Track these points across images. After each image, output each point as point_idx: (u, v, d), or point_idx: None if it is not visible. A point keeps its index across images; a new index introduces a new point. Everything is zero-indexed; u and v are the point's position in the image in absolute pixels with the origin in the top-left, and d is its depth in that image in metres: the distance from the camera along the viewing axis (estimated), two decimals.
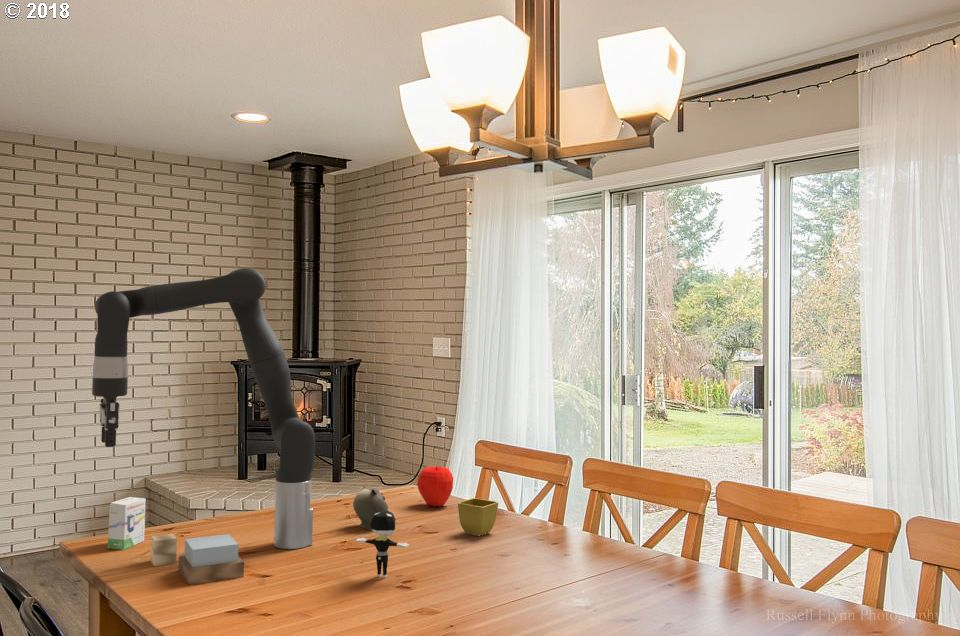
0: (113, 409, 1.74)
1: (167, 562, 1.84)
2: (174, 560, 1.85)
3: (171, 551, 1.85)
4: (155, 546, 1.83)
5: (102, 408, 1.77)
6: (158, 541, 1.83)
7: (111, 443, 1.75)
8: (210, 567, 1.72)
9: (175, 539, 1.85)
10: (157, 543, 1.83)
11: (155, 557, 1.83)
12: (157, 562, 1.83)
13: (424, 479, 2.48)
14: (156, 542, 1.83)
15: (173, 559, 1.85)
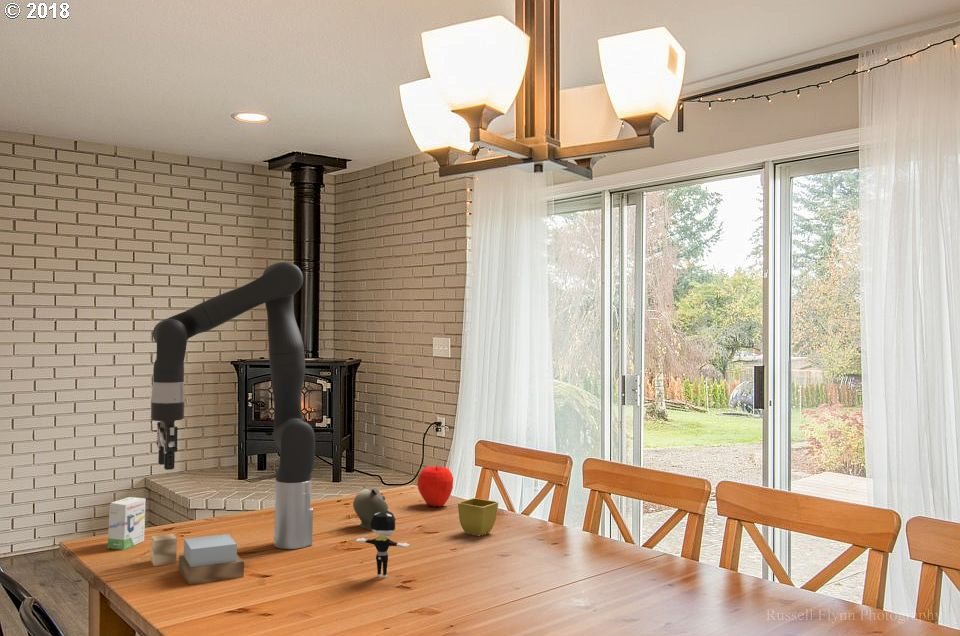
0: (172, 433, 1.81)
1: (167, 562, 1.84)
2: (174, 560, 1.85)
3: (171, 551, 1.85)
4: (155, 546, 1.83)
5: (161, 432, 1.84)
6: (158, 541, 1.83)
7: (170, 466, 1.82)
8: (210, 567, 1.72)
9: (175, 539, 1.85)
10: (157, 543, 1.83)
11: (155, 557, 1.83)
12: (157, 562, 1.83)
13: (424, 480, 2.48)
14: (156, 542, 1.83)
15: (173, 559, 1.85)
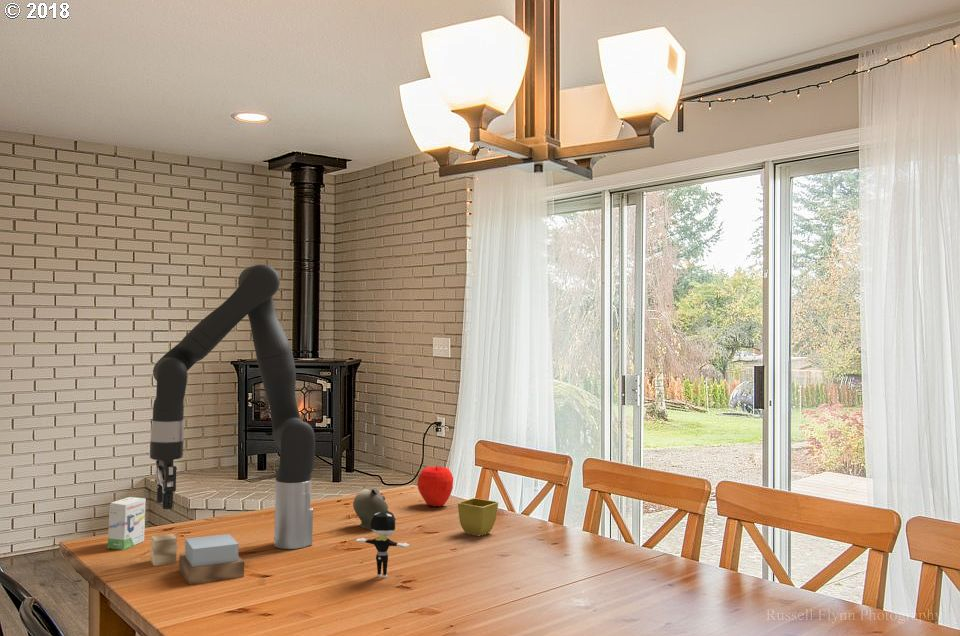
0: (171, 473, 1.81)
1: (167, 562, 1.84)
2: (174, 560, 1.85)
3: (171, 551, 1.85)
4: (155, 546, 1.83)
5: (160, 471, 1.84)
6: (158, 541, 1.83)
7: (168, 505, 1.82)
8: (210, 567, 1.72)
9: (175, 539, 1.85)
10: (157, 543, 1.83)
11: (155, 557, 1.83)
12: (157, 562, 1.83)
13: (424, 479, 2.48)
14: (156, 542, 1.83)
15: (173, 559, 1.85)
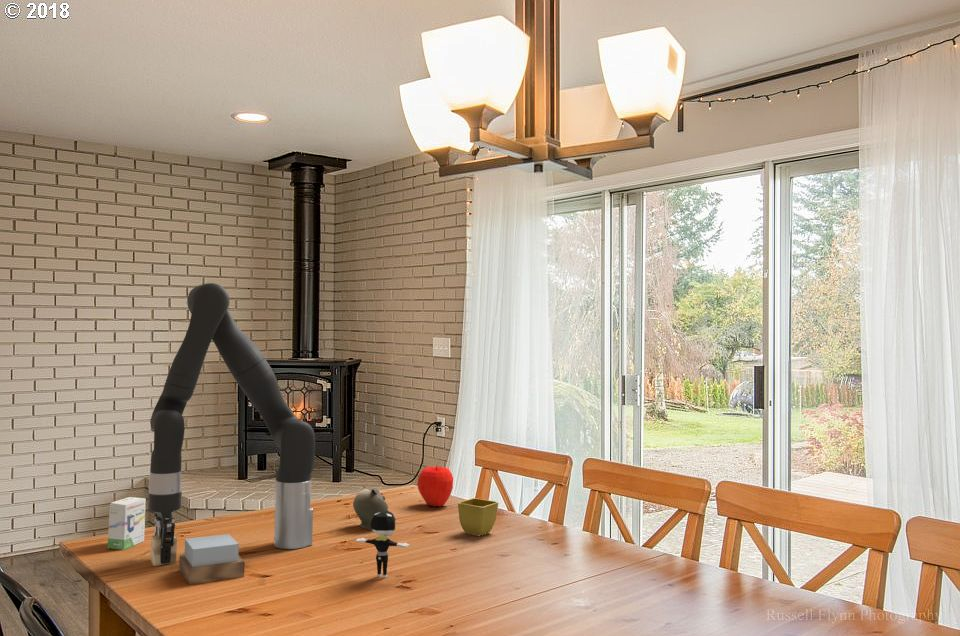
0: (169, 530, 1.81)
1: None
2: (174, 560, 1.85)
3: (171, 551, 1.85)
4: (155, 546, 1.83)
5: (158, 524, 1.84)
6: (158, 541, 1.83)
7: (166, 560, 1.83)
8: (211, 567, 1.72)
9: (175, 539, 1.85)
10: (157, 543, 1.83)
11: (155, 557, 1.83)
12: (157, 562, 1.83)
13: (424, 479, 2.48)
14: (156, 542, 1.83)
15: (173, 559, 1.85)
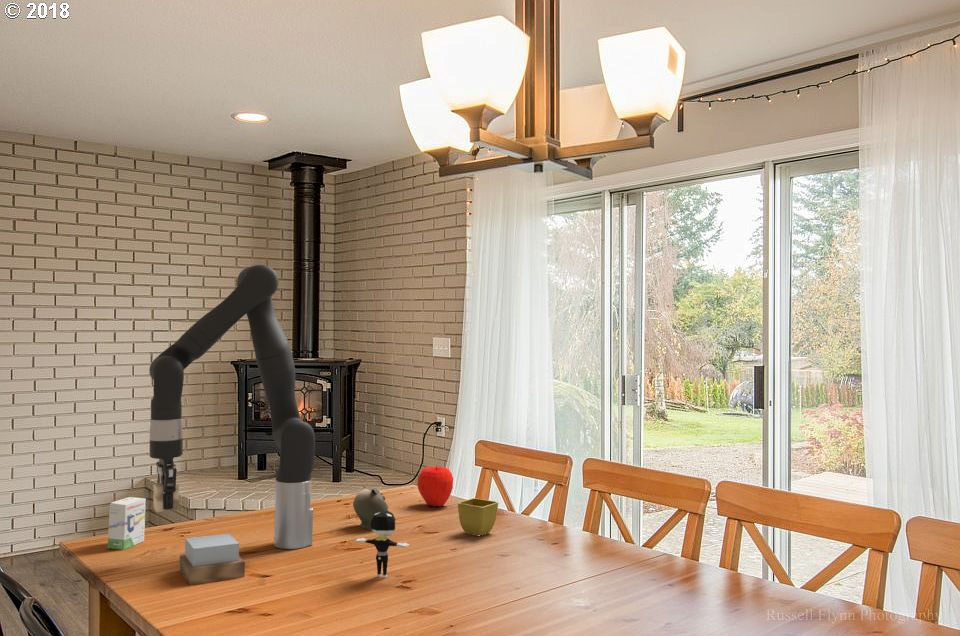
0: (171, 476, 1.81)
1: None
2: (177, 506, 1.85)
3: (173, 497, 1.85)
4: (157, 492, 1.83)
5: (160, 470, 1.84)
6: (160, 487, 1.84)
7: (169, 506, 1.83)
8: (211, 567, 1.72)
9: (177, 485, 1.86)
10: (159, 489, 1.83)
11: (157, 503, 1.83)
12: (159, 508, 1.83)
13: (424, 480, 2.48)
14: (158, 488, 1.83)
15: (176, 506, 1.85)
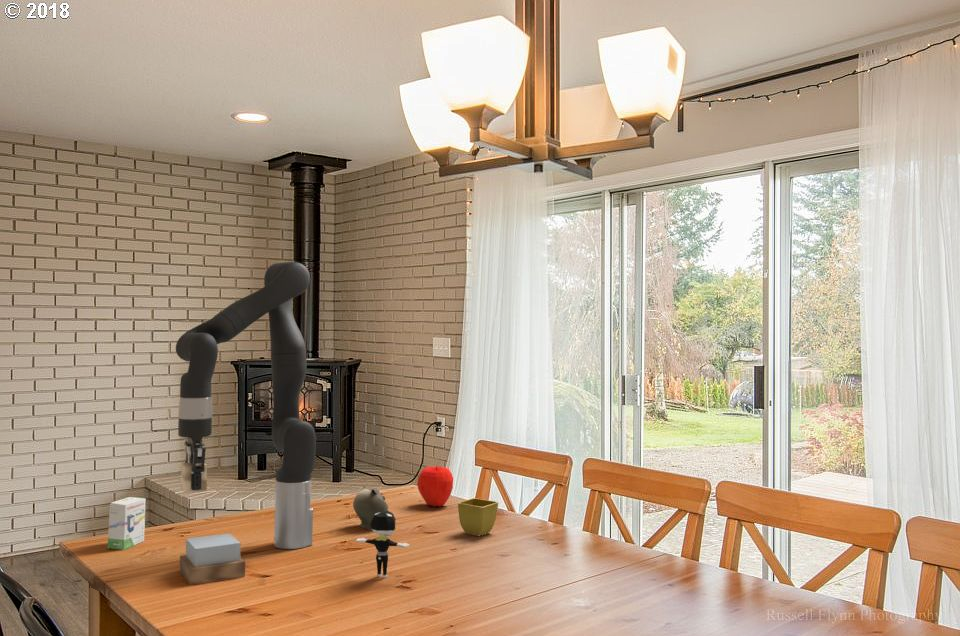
0: (200, 455, 1.76)
1: None
2: (204, 487, 1.80)
3: (201, 478, 1.80)
4: (185, 472, 1.78)
5: (188, 450, 1.79)
6: (188, 467, 1.79)
7: (197, 486, 1.78)
8: (211, 567, 1.72)
9: (205, 465, 1.81)
10: (187, 469, 1.79)
11: (185, 483, 1.78)
12: (187, 488, 1.78)
13: (424, 479, 2.48)
14: (186, 468, 1.78)
15: (203, 486, 1.80)
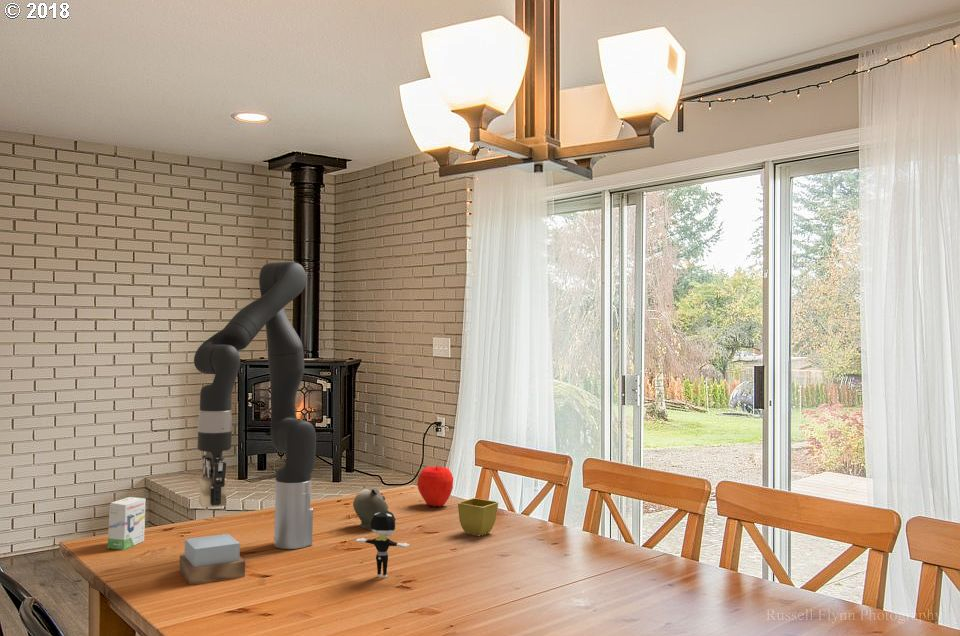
0: (221, 469, 1.73)
1: None
2: (224, 502, 1.77)
3: (221, 492, 1.76)
4: (205, 486, 1.75)
5: (208, 464, 1.75)
6: (208, 481, 1.75)
7: (217, 501, 1.75)
8: (211, 567, 1.72)
9: (225, 480, 1.77)
10: (207, 483, 1.75)
11: (205, 498, 1.75)
12: (206, 503, 1.75)
13: (424, 480, 2.48)
14: (206, 482, 1.75)
15: (223, 501, 1.77)
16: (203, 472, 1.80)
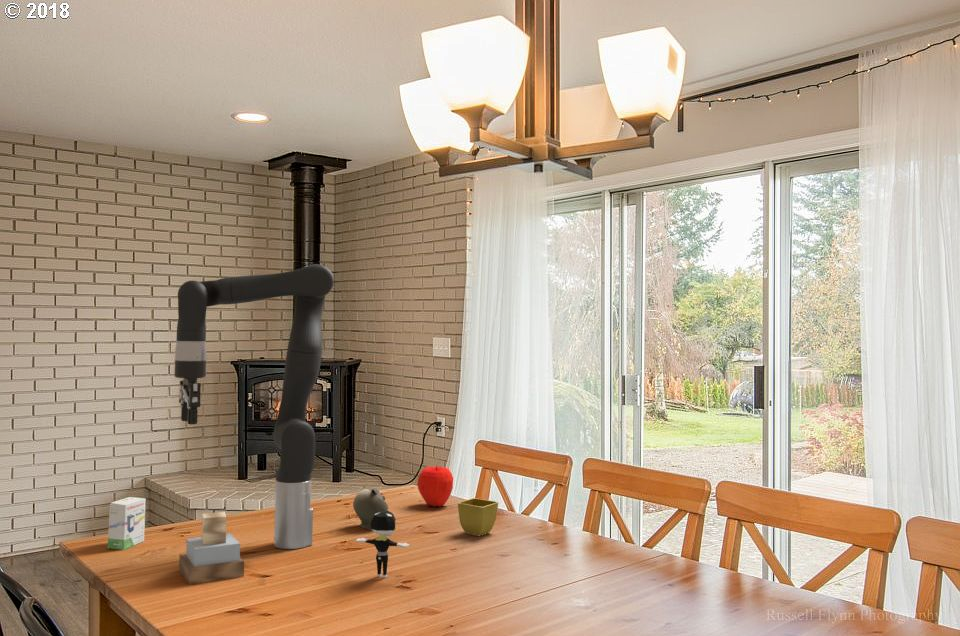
0: (196, 389, 1.89)
1: (216, 541, 1.75)
2: (224, 539, 1.76)
3: (220, 530, 1.76)
4: (204, 524, 1.75)
5: (184, 388, 1.92)
6: (207, 518, 1.75)
7: (193, 421, 1.90)
8: (210, 566, 1.72)
9: (224, 517, 1.76)
10: (206, 521, 1.75)
11: (204, 535, 1.74)
12: (206, 540, 1.75)
13: (424, 479, 2.48)
14: (205, 519, 1.75)
15: (223, 539, 1.76)
16: None
